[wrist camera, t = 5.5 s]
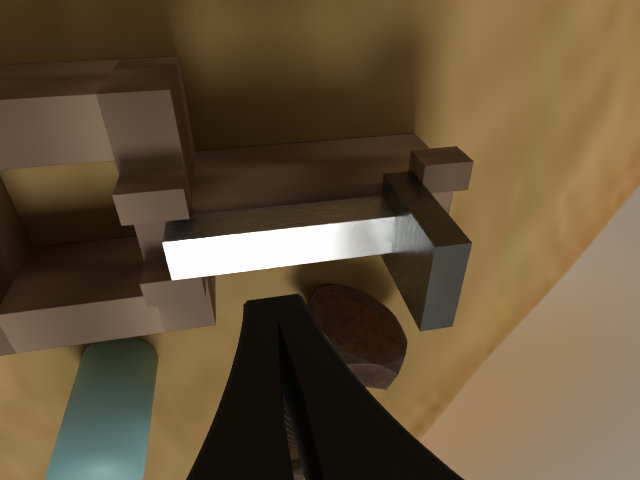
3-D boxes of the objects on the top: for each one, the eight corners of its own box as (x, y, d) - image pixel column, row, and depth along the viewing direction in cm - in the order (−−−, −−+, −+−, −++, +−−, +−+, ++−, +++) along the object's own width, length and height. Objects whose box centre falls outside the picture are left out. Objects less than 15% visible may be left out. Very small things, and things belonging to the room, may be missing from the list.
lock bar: (179, 272, 15) (170, 370, 12) (161, 195, 13) (144, 283, 10) (402, 244, 16) (452, 326, 13) (412, 171, 15) (471, 242, 11)
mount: (1, 288, 19) (-59, 389, 15) (-118, 70, 14) (-261, 131, 10) (401, 240, 22) (446, 313, 18) (425, 44, 17) (496, 82, 13)
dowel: (93, 388, 24) (63, 506, 19) (71, 341, 21) (31, 461, 17) (164, 377, 24) (152, 489, 19) (149, 330, 22) (131, 443, 17)
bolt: (236, 427, 31) (330, 266, 24) (299, 465, 31) (413, 315, 24) (191, 503, 26) (293, 327, 19) (265, 550, 26) (398, 391, 18)
